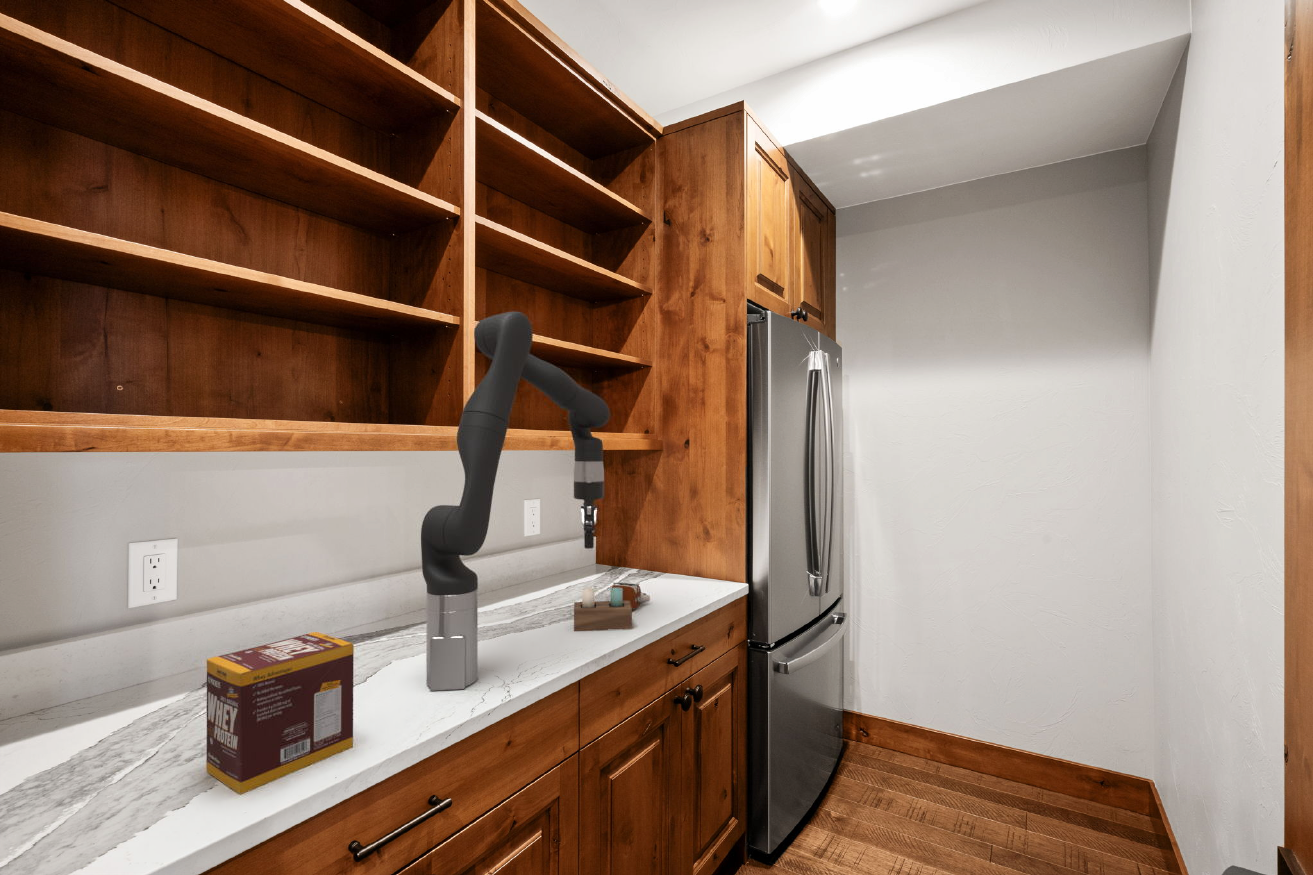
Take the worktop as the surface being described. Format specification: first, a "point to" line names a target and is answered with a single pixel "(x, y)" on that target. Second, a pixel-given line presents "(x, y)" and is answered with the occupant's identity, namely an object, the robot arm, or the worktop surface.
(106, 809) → the worktop surface
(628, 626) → the socket block
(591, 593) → the peg cream
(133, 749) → the worktop surface
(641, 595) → the toy
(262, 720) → the supplement box
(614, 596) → the peg teal
